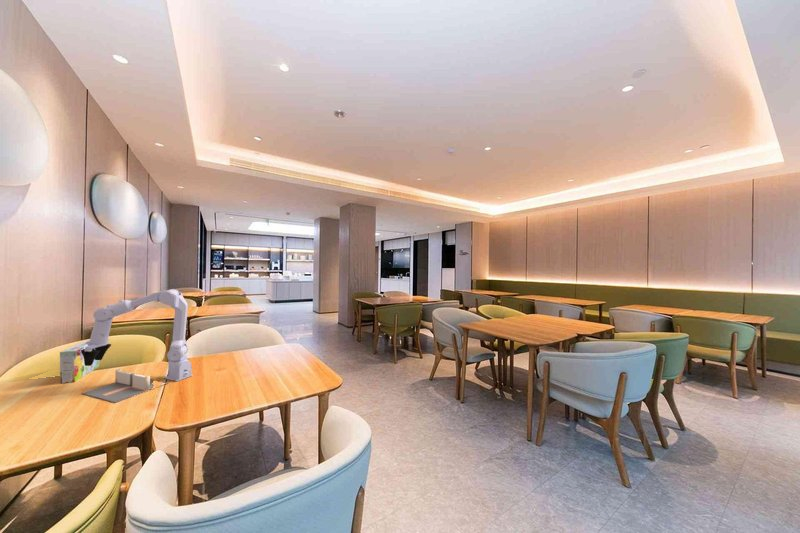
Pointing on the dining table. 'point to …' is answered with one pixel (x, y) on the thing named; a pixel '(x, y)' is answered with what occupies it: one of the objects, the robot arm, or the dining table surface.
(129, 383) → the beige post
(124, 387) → the card
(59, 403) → the dining table surface
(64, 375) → the snack box
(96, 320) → the robot arm
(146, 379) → the fixed fence section
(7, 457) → the dining table surface
